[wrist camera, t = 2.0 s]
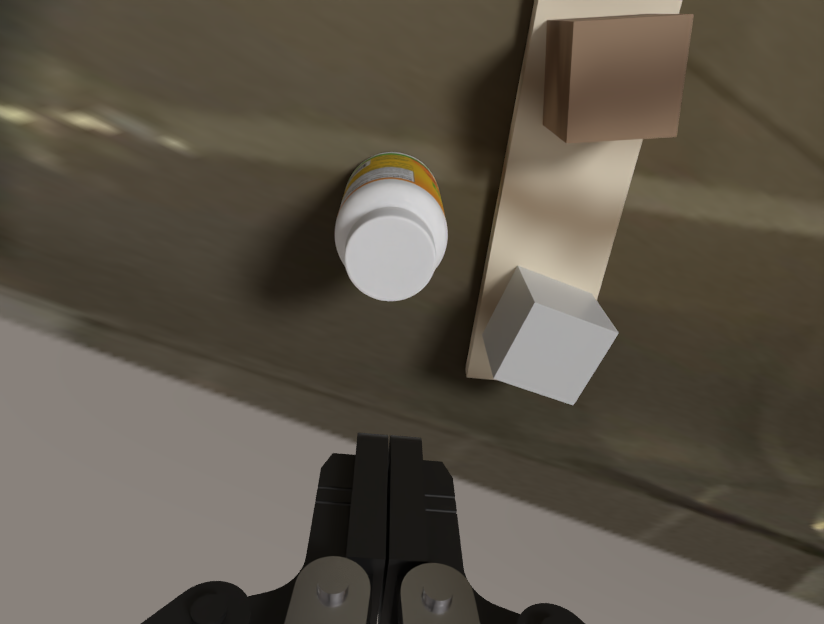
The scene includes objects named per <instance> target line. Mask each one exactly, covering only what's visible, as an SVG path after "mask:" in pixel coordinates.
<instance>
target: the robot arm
mask: <svg viewBox="0 0 824 624" xmlns="http://www.w3.org/2000/svg"><path fill="white" fill-rule="evenodd" d="M456 511H457V510H456V502H455V493H454V485H453V478H452V476H451V475H450V473H449V472H448V470H447V469H446V467H445V466H444V464H443V462H439V461H426V460H423V454H422V440H421V438H417V437H405V436H393V435H391V436H390V441H389V449H388V435H379V434H367V433H358V436H357V446H356V455H349V454H337V453H333V454H332V455H331V456H330V457H329V459H328V460H327V461H326V462H325V464H324V465H323V466H322V468H321V472H320V478H319V484H318V490H317V495H316V502H315V508H314V513H313V519H312V525H311V532H310V537H309V543H308V548H307V554H306V559H305V563H304V565H303V567H302V569H301V570H300V572H299V573H298V575H297V576H296V577H295V578H294V579H292V580H291V581H290V582H289V583H287V584H286V585H284V586H282V587H280V588H278V589H276V590H273V591H269V592H265V593H261V594H257V595H252V596H248V597H247V595H246V594H245V593H244V592H243V590H242V589H240V588H239V587H237V586H236V585H234V584H231V583H228V582H223V581H210V582H205V583H201V584H198V585H196V586H194V587H191V588H190V589H188V590H187V591H185V592H184V593H183V594H181V595H179V596H178V597H177V598H175V599H174V600H173V601H171V602H170V603H169V604H167V605H166V606H164V607H163V608H162V609H160V610H159V611H157V612H156V613H155V614H153V615H152V616H151V617H149V618H148V619H147V620H145V621H144V622H143V623H141V624H377V616H378V624H585V623H584V622H583V621H581V620H580V619H579V618H578V617H577V616H576V615H574V614H573V613H572V612H570V611H569V610H567V609H565V608H563V607H561V606H557V605H554V604H549V603H540V604H535V605H532V606H530V607H528V608H526V609H525V610H524V611H523V612H522V613H521V614H518V613H515V612H513V611H510V610H507V609H505V608H502V607H499V606H497V605H495V604H492V603H490V602H489V601H487V600H485V599H484V598H483V597H481V596H480V595H479V594H478V593H477V592H476V591H475V590H474V589H473V588H472V586H471V585H470V583H469V582H468V580H467V578H466V576H465V573H464V568H463V560H462V552H461V544H460V535H459V527H458V518H457V514H456Z"/></svg>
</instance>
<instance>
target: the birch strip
mask: <svg viewBox="0 0 824 624" xmlns="http://www.w3.org/2000/svg"><path fill="white" fill-rule="evenodd" d="M681 4H682V0H534V5H533V10H532V15H531V21H530V26H529V32H528V37H527V42H526V48H525V53H524V58H523V64H522V69H521V74H520V80H519V85H518V90H517V96H516V101H515V106H514V112H513V117H512V122H511V128H510V133H509V138H508V144H507V149H506V154H505V160H504V165H503V170H502V176H501V181H500V186H499V192H498V197H497V202H496V208H495V213H494V218H493V224H492V229H491V234H490V240H489V245H488V250H487V256H486V261H485V266H484V272H483V277H482V282H481V288H480V293H479V298H478V304H477V309H476V314H475V320H474V325H473V330H472V336H471V341H470V346H469V352H468V357H467V362H466V368H465V371H466V376H467V378H479V379H490V380H496V379H493V375H492V371H491V367H490V364H489V360H488V356H487V352H486V348H485V344H484V341H483V337H482V334H483V332H484V330H485V328H486V326H487V324H488V322H489V320H490V318H491V316H492V314H493V312H494V310H495V308H496V306H497V304H498V302H499V301H500V299H501V297H502V295H503V293H504V291H505V289H506V287H507V285H508V283H509V281H510V279H511V277H512V275H513V273H514V271H515V269H516V267H517V265H518V266H520V267H523V268H526V269H528V270H531V271H534V272H536V273H539V274H542V275H544V276H547V277H550V278H552V279H555V280H558V281H560V282H563V283H566V284H568V285H571V286H573V287H576V288H579V289H581V290H584V291H587V292H589V293H592V295H593V296H594V298H595V299H596V301H597V297H598V294H599V290H600V287H601V283H602V280H603V276H604V273H605V269H606V266H607V262H608V259H609V255H610V252H611V248H612V245H613V241H614V238H615V234H616V231H617V227H618V224H619V220H620V217H621V214H622V210H623V207H624V203H625V200H626V196H627V193H628V189H629V186H630V182H631V179H632V175H633V172H634V168H635V165H636V161H637V158H638V154H639V151H640V147H641V144H642V140H643V139H634V140H617V141H601V142H585V143H568V144H566V143H565V142H564V141H563V140H561V139H560V138H559V137H557V136H556V135H555V134H554V133H552V132H551V131H550V130H549V129H547V128H546V127H545V126H543V105H544V81H545V57H546V33H547V20H555V19H571V18H587V17H603V16H620V15H636V14H679V11H680V7H681Z"/></svg>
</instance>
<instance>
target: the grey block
mask: <svg viewBox="0 0 824 624" xmlns="http://www.w3.org/2000/svg"><path fill="white" fill-rule="evenodd" d="M617 335H618V331H617V330H616V328H615V327H614V325H613V324H612V322H611V321H610V320H609V318H608V317H607V315H606V314H605V312H604V311H603V309H602V308H601V306H600V305H599V304H598V302H597V301H596V299H595V298H594V296H593V295H592V293H589V292H587V291H584V290H581V289H579V288H576V287H573V286H571V285H568V284H566V283H563V282H560V281H558V280H555V279H552V278H550V277H547V276H544V275H542V274H539V273H536V272H534V271H531V270H528V269H526V268H523V267H520V266H518V265H517V267H516V269H515V271H514V273H513V275H512V277H511V279H510V281H509V283H508V285H507V287H506V289H505V291H504V293H503V295H502V297H501V299H500V301H499V302H498V304H497V306H496V308H495V310H494V312H493V314H492V316H491V318H490V320H489V322H488V324H487V326H486V328H485V330H484V332H483V334H482V337H483V341H484V344H485V348H486V352H487V356H488V360H489V364H490V367H491V371H492V375H493V379H496V380H499V381H502V382H505V383H508V384H511V385H514V386H517V387H520V388H523V389H526V390H529V391H532V392H535V393H538V394H541V395H544V396H547V397H550V398H553V399H556V400H559V401H562V402H565V403H568V404H571V405H574V403H575V402H576V400H577V399H578V397H579V396H580V394H581V392H582V391H583V389H584V388H585V386H586V384H587V383H588V381H589V380H590V378H591V376H592V375H593V373H594V372H595V370H596V368H597V367H598V365H599V364H600V362H601V361H602V359H603V357H604V356H605V354H606V353H607V351H608V349H609V348H610V346H611V345H612V343H613V341H614V340H615V338H616V337H617Z"/></svg>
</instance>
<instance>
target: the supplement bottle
mask: <svg viewBox="0 0 824 624" xmlns="http://www.w3.org/2000/svg"><path fill="white" fill-rule="evenodd" d="M447 238H448V232H447V223H446V219H445V214H444V209H443V205H442V201H441V197H440V192H439V188H438V185H437V183H436V180H435V178H434V176H433V175H432V173H431V171H430V170H429V169H428V168H427V167H426V166H425V165H424V164H423V163H422V162H421V161H419V160H418V159H416V158H414V157H412V156H410V155H407V154H403V153H397V152H386V153H380V154H377V155H374V156H372V157H370V158H368V159H367V160H365V161H364V162H362V163H361V164H360V165H359V166H358V167H357V168H356V169H355V170H354V172H353V173H352V175H351V176H350V178H349V180H348V183H347V185H346V188H345V192H344V195H343V199H342V202H341V206H340V209H339V212H338V215H337V219H336V224H335V244H336V249H337V252H338V255H339V257H340V259H341V261H342V263H343V264H344V266H345V268H346V271H347V274H348V276H349V278H350V279H351V281H352V282H353V284H354V285H355V286H356V287H357V288H358V289H359V290H360V291H361V292H363V293H364V294H366V295H368V296H370V297H372V298H375V299H378V300H382V301H399V300H403V299H406V298H409V297H411V296H413V295H415V294H417V293H418V292H419V291H421V290H422V289H423V288H424V287H425V286H426V285H427V283H428V282H429V280H430V279H431V277H432V275H433V272H434V270H435V269H436V268H437V266H438V265H439V263H440V262H441V260H442V258H443V256H444V253H445V250H446V246H447Z"/></svg>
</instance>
